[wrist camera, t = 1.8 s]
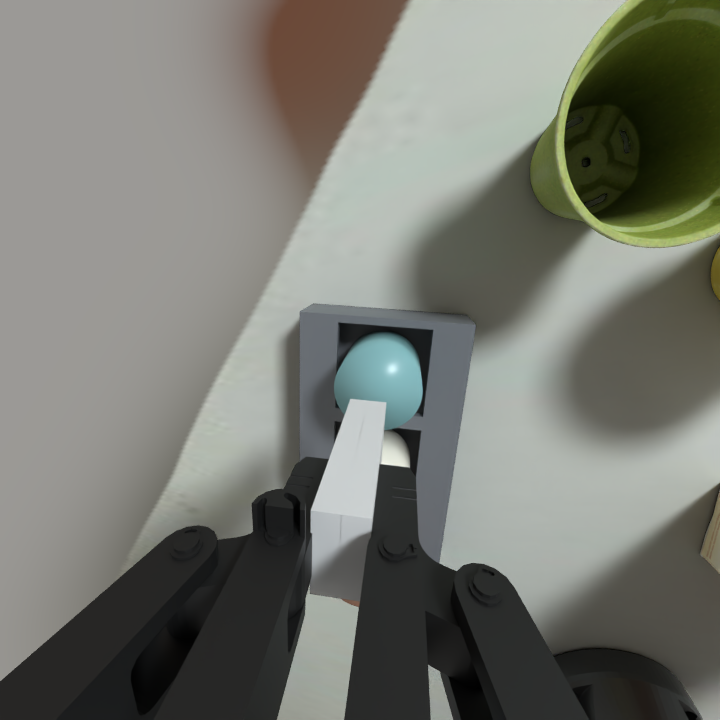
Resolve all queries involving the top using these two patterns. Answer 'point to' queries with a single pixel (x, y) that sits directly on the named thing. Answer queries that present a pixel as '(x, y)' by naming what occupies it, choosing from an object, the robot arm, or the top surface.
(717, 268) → the plant pot
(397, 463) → the cream egg
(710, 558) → the coffeecake box
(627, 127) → the plant pot
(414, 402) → the teal egg
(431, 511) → the egg display tray
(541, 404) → the top surface
